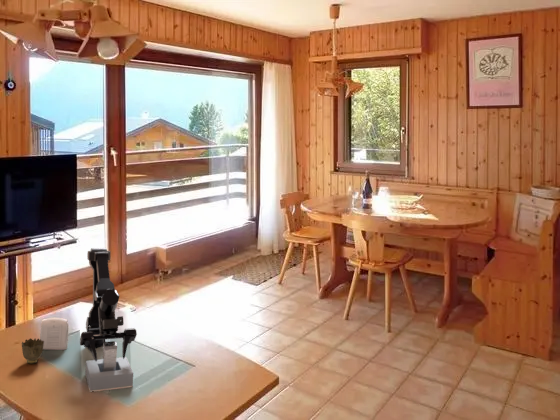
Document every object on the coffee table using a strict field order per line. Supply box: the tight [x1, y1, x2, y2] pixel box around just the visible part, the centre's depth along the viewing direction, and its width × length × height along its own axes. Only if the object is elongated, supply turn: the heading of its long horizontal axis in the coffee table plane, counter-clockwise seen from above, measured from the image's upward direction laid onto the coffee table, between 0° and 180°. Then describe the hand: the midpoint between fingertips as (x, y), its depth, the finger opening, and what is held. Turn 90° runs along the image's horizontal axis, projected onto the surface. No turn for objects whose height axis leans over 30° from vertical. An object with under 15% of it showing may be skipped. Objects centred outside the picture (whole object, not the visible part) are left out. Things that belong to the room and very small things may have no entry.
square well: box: [84, 356, 134, 393], centre depth 185 cm, size 14×14×5 cm
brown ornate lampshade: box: [21, 338, 44, 365], centre depth 193 cm, size 8×7×8 cm
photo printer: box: [39, 317, 69, 351], centre depth 207 cm, size 10×4×12 cm, turn 103°
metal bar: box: [102, 340, 118, 372], centre depth 185 cm, size 4×4×13 cm
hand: (110, 359), depth 183 cm, fingers open, 9 cm apart
